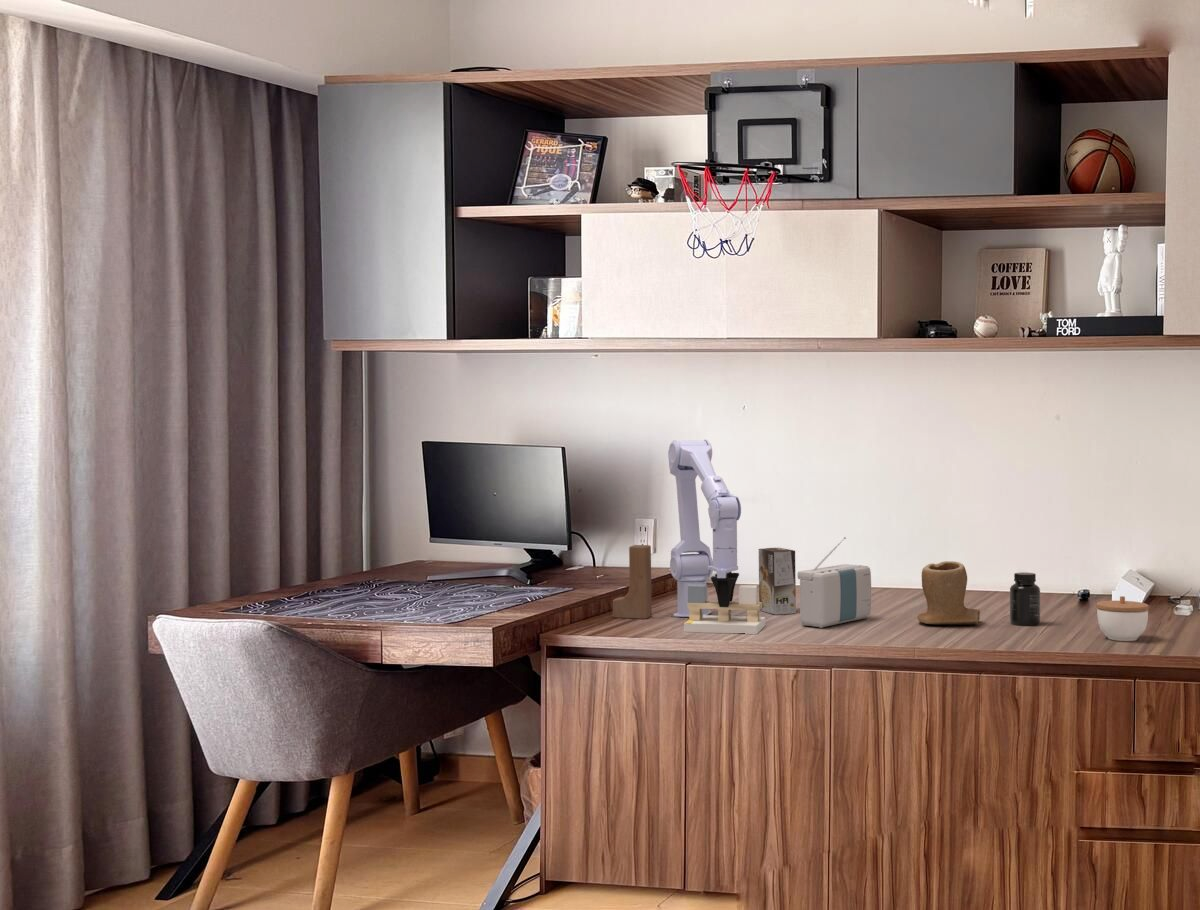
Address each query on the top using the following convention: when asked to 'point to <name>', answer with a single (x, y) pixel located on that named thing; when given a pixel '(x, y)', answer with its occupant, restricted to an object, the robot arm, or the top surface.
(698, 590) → the pale grey square box
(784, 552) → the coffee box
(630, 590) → the wooden block
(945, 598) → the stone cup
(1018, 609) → the supplement bottle
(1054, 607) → the top surface
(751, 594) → the greyish beige cube
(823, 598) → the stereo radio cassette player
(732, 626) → the dock
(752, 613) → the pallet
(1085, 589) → the top surface
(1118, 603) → the lidded jar
